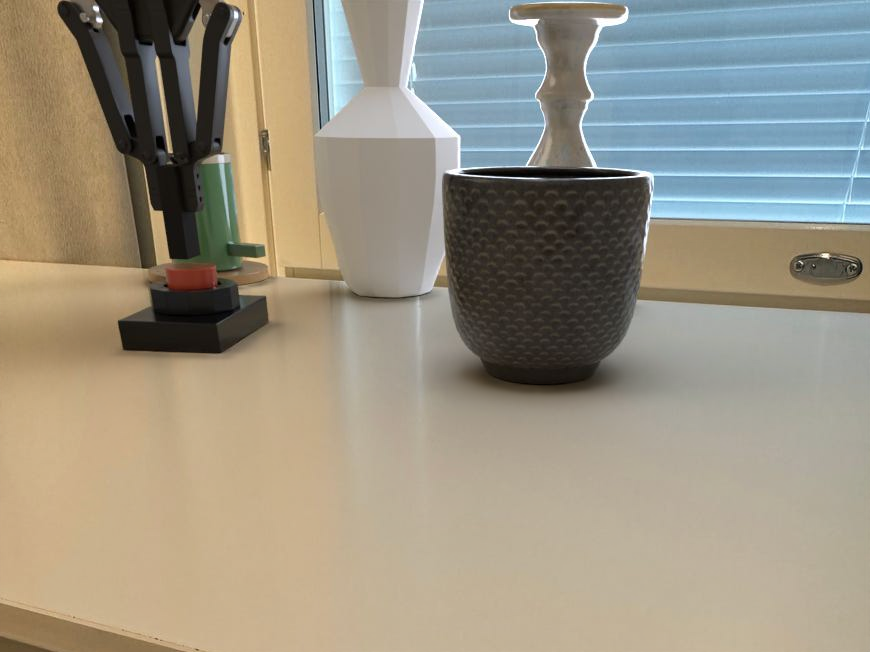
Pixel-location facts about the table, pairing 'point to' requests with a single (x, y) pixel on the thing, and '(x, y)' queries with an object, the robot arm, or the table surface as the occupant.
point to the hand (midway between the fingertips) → (185, 256)
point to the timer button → (191, 276)
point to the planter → (544, 265)
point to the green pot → (220, 219)
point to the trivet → (223, 273)
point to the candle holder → (565, 73)
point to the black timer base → (193, 319)
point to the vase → (385, 161)
